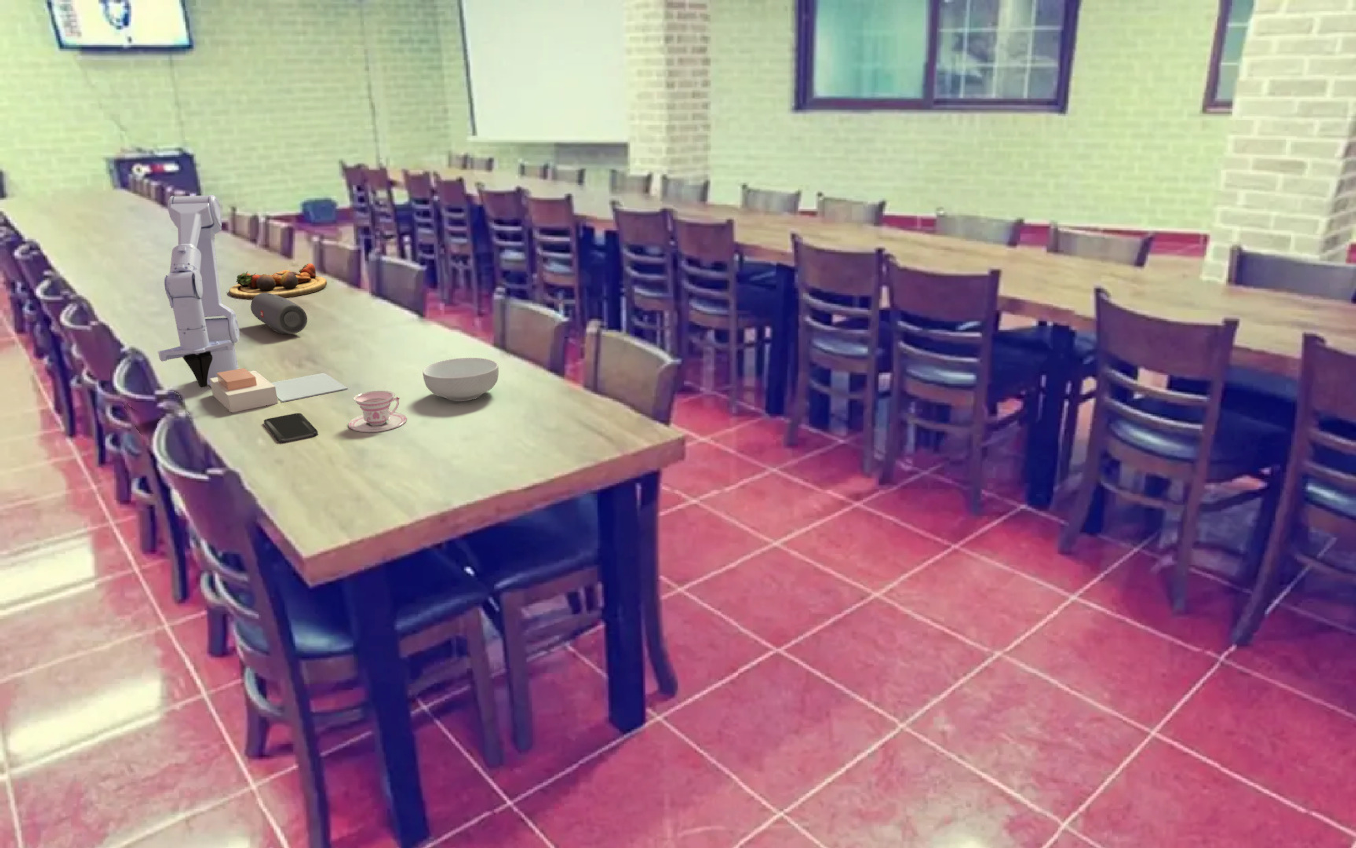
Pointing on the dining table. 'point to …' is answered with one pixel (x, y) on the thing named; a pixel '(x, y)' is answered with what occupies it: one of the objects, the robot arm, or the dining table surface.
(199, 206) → the robot arm
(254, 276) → the wooden plate with food
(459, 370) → the cereal bowl
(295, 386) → the mat
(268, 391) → the cream rectangular block
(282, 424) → the phone
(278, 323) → the bluetooth speaker
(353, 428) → the teacup
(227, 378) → the terracotta tile
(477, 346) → the dining table surface
